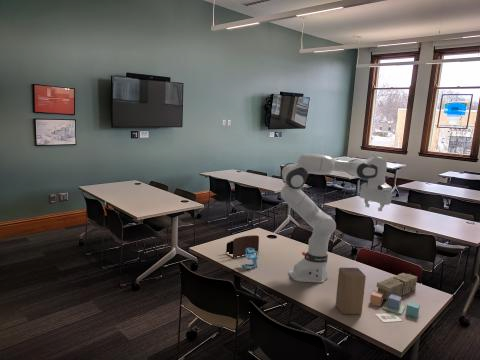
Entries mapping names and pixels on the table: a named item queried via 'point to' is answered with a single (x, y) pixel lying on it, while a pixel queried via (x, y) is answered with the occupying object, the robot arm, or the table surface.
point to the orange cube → (376, 298)
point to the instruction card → (388, 317)
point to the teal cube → (412, 309)
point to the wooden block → (350, 290)
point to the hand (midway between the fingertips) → (373, 209)
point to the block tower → (397, 285)
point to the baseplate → (394, 305)
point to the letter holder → (242, 245)
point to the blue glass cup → (251, 257)
